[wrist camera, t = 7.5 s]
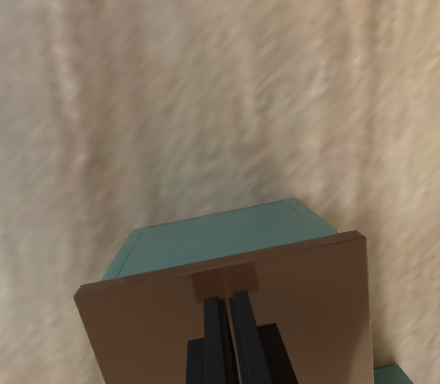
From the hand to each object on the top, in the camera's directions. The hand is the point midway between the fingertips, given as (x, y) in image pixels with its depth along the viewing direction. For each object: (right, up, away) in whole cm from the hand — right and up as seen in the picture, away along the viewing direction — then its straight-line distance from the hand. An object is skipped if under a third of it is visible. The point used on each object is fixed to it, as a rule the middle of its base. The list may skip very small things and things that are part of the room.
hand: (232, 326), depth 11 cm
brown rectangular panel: (+1, -4, +3) cm, 5 cm away
